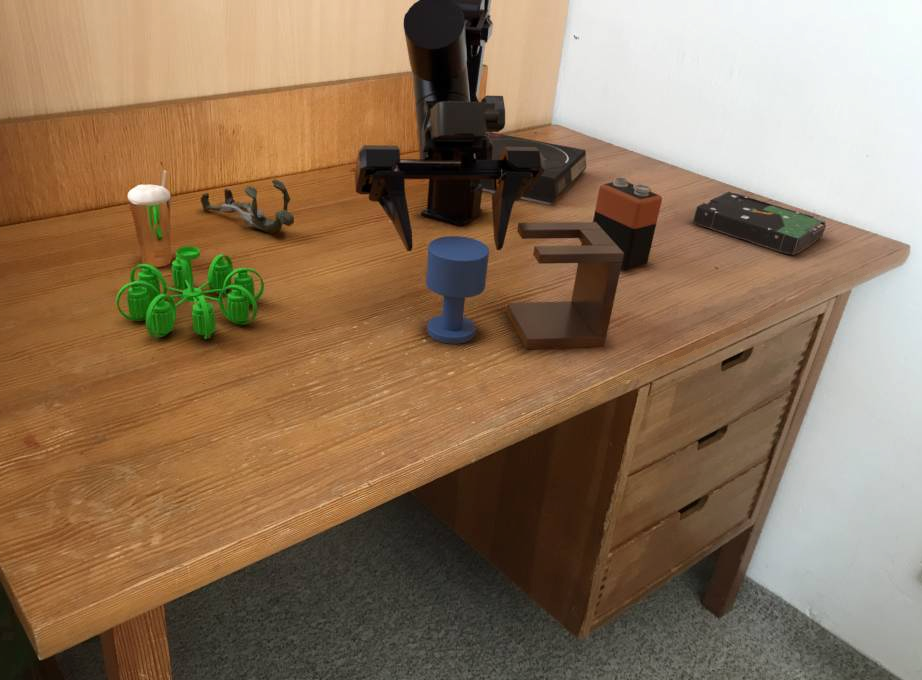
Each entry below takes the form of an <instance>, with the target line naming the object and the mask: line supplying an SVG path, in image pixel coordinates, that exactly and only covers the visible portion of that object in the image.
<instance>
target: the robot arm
mask: <svg viewBox="0 0 922 680" xmlns="http://www.w3.org/2000/svg"><path fill="white" fill-rule="evenodd" d="M491 4H492V0H417V1H415V2H413V4H412V5H411V6H410V7H409V8H408V10H407V11H406V12H405V14H404V17H403V31H404V37H405V43H406V50H407V54H408V55H407V56H408V61H409V66H410V70H411V72H412V81H413V82H412V83H413V95H414V106H415V118H416V119H415V120H416V139H417V143H418V157H419V158H416V159H415V158H401V153H400V152H401V151H400V148H399V146H398V145H392V144H391V145H390V144H389V145H385V144H384V145H382V144H381V145H380V144H379V145H378V144H377V145H376V144H373V145H372V144H364V145H363V146H361V148H360V149H359V150H358V152H357V156H356V157H357V158H356V164H355V169H354V182H355V193H356V194H359V195H368V199H369V202H370V201H371V202H375V203H378V204H379V206H380V207H381V209H383V211H384V212H385V214H386V215H387V217H388V218H389V220H390V221H391V224H393V226H394V228H395V230H396V232H397V234H398V236H399V238H400V240H401V242H402V244H403V246H404V247H405V250H406V251H407V252H412V249H413V247H414V246H413V232H412V231H413V230H412V226H411V225H412V224H411V219H410V213H409V207H408V202H407V197H406V189H405V188H406V183H405V180H428V188H427V189H428V190H427V203H426V204H427V205H426V208H424V209H422V210H421V211H420V215H421V216H424V217H426V218H431V219H435V220H438V221H440V222H441V221H442V222H445V223H449V224H452V225H457V226H464V225H465V224H467V223H468V222H470V221H472V220H473V219H475V218H476V217H478V216H479V215H480V214H482V213H483V209H482V208H481V206H482V195H483V191H482V187H483V186H482V185H481V184H480V179H492V181H493V188H494V189H495V190H496V191H495V193H492V196H491V208H492V209H491V211H492V221H493V222H492V224H493V227H492V228H493V239H494V245H495V248H496V250H497V251H501V250H502V249H503V247H504V244H505V241H506V240H505V239H506V235H507V231H508V228H509V222H510V218H511V214H512V211H513V207H514V205H515V204H514V203H515V202H518V201H520V200H521V199H520V198H521V197H522V195H524V194H527V193H530V192H531V191H532V189H533V188H534V186H535V185H536V183H537V182H538V180H539V179H540V177H541V176H542V174H543V172H544V171H545V166H544V158H543V155H542V154H541V152H540V151H539V150H538V149H537V148H536V147H504V148H503V150H502V152H501V154H500V156H499V158H498V160H493V144H492V143H491V141H490V138H489V132H492V133H499V132H501V131H503V130H504V129H505V125H506V105H505V100H504V96H503V95H485V96H484V97H483V98H481V99H480V101H479V94H480V85H481V80H482V79H481V77H482V71H483V64H484V56H485V49H486V43H488V41H489V40H490V38H491V36H492V34H493V30H494V22H493V20H491V15H490V14H491V13H490V11H491V6H492V5H491Z"/></svg>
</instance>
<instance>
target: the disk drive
mask: <svg viewBox="0 0 922 680" xmlns="http://www.w3.org/2000/svg"><path fill="white" fill-rule="evenodd" d="M693 223H695V224H697V225H699V226H702V227H705V228H708V229H711V230H713V231H715V232H716V231H717V232H719V233H722V234H725V235H728V236H731V237H735V238H738V239H742V240H744V241H748V242H751V243H752V244H755V245H758V246H761V247H764V248H767V249H770V250H773V251H775V252H776V251H777V252H780V253H785V254H787V255H792V256H795V255H796V254H799V253H801V252H802V251H803V250H805V249H806V248H808V247H809V246H811V245H812V244H814V243H815V242H817V241H818V240H820V239H821V238H822V237H823V235H824V233H825V230H826V227H827V225H826V221H825V220H823V219H820V218H818V217H817V218H816V217H814V216H812V215H810V214H806V213H802V212H799V211H798V212H797V211H796V210H793V209H790V208H785V207H782V206H779V205H776V204H772V203H769V202H765V201H762V200H758V199H756V198H752V197H749V196H745V195H743V194H739V193H735V192H731V191H727V192H724V193H722V194H721V195H719V196H716V197H714V198H712V199H710V201H709V202H708V203H706V202H704V203H701V204H700V205H699V204H698V205H697V206H696V209H695V212H694V217H693Z"/></svg>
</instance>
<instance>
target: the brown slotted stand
mask: <svg viewBox="0 0 922 680" xmlns="http://www.w3.org/2000/svg"><path fill="white" fill-rule="evenodd" d="M516 232H517V234H518V235H519V237H520V238H521V239H522V240H527V239H529V240H530V239H531V240H533V239H534V240H535V239H540V240H541V239H578V240H579V241H580V243H581V245H535V246H534V248H533V253H532V254H533V255H532V256H533V257H534V259H535V260H536V261H537V263H538V264H540V265H541V264H542V265H543V264H544V265H545V264H577V267H576V273H575V278H574V283H573V289H572V295H571V300H570V301H535V302H534V301H533V302H530V301H529V302H507V303H506V311H505V313H506V315H507V316H508V318H509V321H510V323H511V324H512V326H513V328H514V329H515V331H516V333H517V336H518V337H519V339H520V340H521V343H522V345H523V347H524V349H525V350H541V349H542V350H543V349H544V350H545V349H570V348H571V349H573V348H574V349H575V348H600V347H601V348H603V347H605V346H606V341H607V336H608V333H609V332H608V331H609V327H610V323H611V317H612V313H613V307H614V302H615V299H616V294H617V289H618V284H619V280H620V276H621V275H620V274H621V270H622V269H621V266H622V260H623V256H624V253H623V252H622V251H621V249H620V248H619V247H618V246H617V245H616V244H615V243H614V242H613V240H612V239H611V238H610V237H609V236H608V235H607V234H606V233H605V232H604V230H602V228H601V227H600V226H599V225H598V224H597V223H596V222H593V221H567V222H565V221H564V222H563V221H561V222H559V221H558V222H556V221H554V222H553V221H551V222H548V221H547V222H518V224H517V229H516Z"/></svg>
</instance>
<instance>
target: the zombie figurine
mask: <svg viewBox="0 0 922 680" xmlns="http://www.w3.org/2000/svg"><path fill="white" fill-rule="evenodd" d="M271 183H273V187H274V188H275V189H276V190H278V191H280V192H281V194H283V199H282V200H283V209H281V210H278V211H276V212H275V220H273V219H271V218H270V219H268V218H267V217H266V214H265V213H264V211H262V210H260V209H259V208H258V200H257V197H258V196H257V195H258V190H257V189H256V188H255V187H252V186H249V185H248V186H246V187H245V189H244V193H245V195H247V196H248V197H250V198H251V199H252V201H251V203H250V202H246V201H244V202H240V201H237V202H236V201H235V199H234V195H233V192H232V191H231V189H229V188H225V189H224V203H222V204H221V205H211V203H210V201H209V199H210V194H209V193H208V192H205V193H203V194H202V195H201V196H200V203H201V206H202V209H203V212H207V211H208V212H209V211H215V212H219V213H225V214H231V213H233V214H234V213H237V214H238V216H239V217H240V218H242V219H243V220H244V221H245V223H246V225H247V227H249V228H253V229H257V230H260V231H262V232H265V233H268V234H270V235H272V234H276V233H278V232H279V231H281V229H282V228H283V225H285V226H287V227H291V226H292V225H293V224H294V223H295V216H294V215H293V214H292V212H291V211H288V205H289V203H290V201H291V198H290V194H289V192H288V189H287V187H286V185H285V184H284V182H283V181H280V180H277V179H273V180H271ZM244 210H245V211H248V212H245V211H244Z"/></svg>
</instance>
